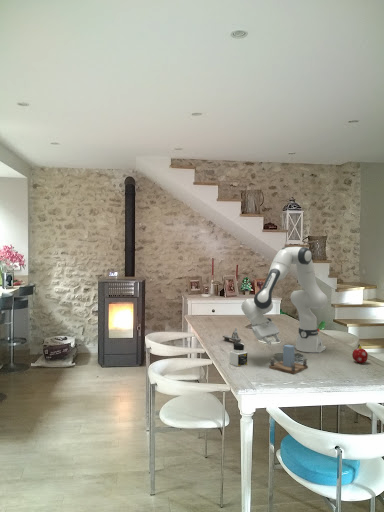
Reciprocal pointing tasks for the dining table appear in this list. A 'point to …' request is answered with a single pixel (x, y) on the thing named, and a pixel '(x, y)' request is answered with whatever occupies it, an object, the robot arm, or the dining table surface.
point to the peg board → (292, 370)
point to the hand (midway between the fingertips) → (274, 342)
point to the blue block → (288, 355)
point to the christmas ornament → (360, 355)
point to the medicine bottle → (238, 355)
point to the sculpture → (233, 337)
